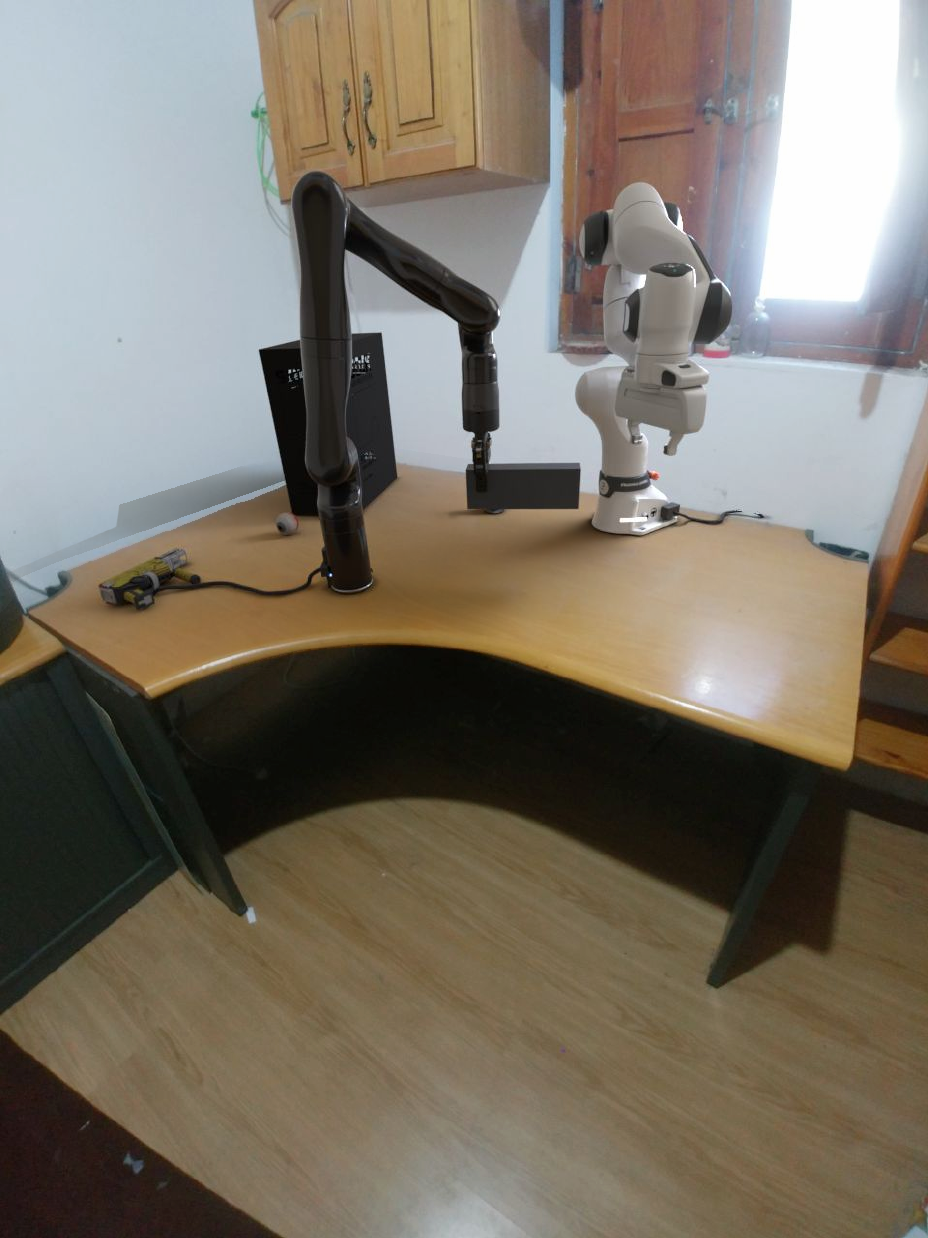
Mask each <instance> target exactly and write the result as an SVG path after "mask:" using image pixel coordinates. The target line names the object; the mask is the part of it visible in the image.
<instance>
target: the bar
mask: <svg viewBox="0 0 928 1238" xmlns="http://www.w3.org/2000/svg"><path fill="white" fill-rule="evenodd" d="M478 468H483V465H478ZM473 470H474V467H473V463H467V465H466V467H465V486H466V488H465V489H466V510H486V509H504V510H579V509H580V508H579V507H580V489H581V474H582V473H581V472H582V468H581V463H580V462H520V463H519V462H518V463H516V462H515V463H509V462H507V463H490V464H487V491H486V492H477V491H476V475H474V473H473Z"/></svg>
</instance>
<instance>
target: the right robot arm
mask: <svg viewBox="0 0 928 1238" xmlns="http://www.w3.org/2000/svg"><path fill="white" fill-rule="evenodd" d="M578 246H579V250H580V253H581V256H582V260H583V261H584V262H585V263H586V265H588V266H591V267H601V266H610V267H609V268H608V270H607V271H606V273H605V274H606V275H605V278H604V279H605V280H604V284H603V285H604V287H603V297H602V315H603V318H602V319H603V338H604V339H603V340H604V344H605V346H606V348H607V349H608V351H609V352H611V353H612V354H613V355H615V356H616V357H617V356H618V358H621V359H623V360H624V361H625V362H626V363H627V365H621V366H620V365H619V366H603V367H599V368H595V369H592V370H591V369H590V370H588V371H584V373H582V375H581V376H580V377H579V378H578V380H577V383H576V385H575V390H574V399H575V403H576V405H577V407H578V409H579V410H580V412H581V413H582V414H583V415H585V416H586V417H588V418H589V419H590V420H591V421H592V422H593V424H594V426H595V427H596V429H597V431H598V434H599V436H600V437H599V438H600V443H601V468H600V470H599V474H598V492H599V493H598V498H597V502H596V507H595V511H594V514H593V517H592V520H591V525H592V526H593V527H594V528H595V529H597V530H599V531H601V532H605V533H611V534H623V535H625V534H626V535H632V536H633V535H634V536H645V535H646V534H650V533H652V532H654V531H657V530H660V529H662V528H665V527H668V526H670V525H672V524H675V523H677V522H678V516H680V517H682V518H685V519H686V520H689V521H694V522H698V523H703V524H718V523H722V521H724V517H725V515H730V514H735V513H737V514H738V513H743V512H742V511H737V510H738V509H733V510H725V511H724V512H722V513H721V515H720V518H719V519H715V520H714V519H713V520H711V519H710V520H709V519H701V518H696V517H693V516H689V515H687V514H685V513H682V512H680V510H681V504H680V503H676V502H673V501H672V502H670V501H669V498H668V497H667V496H666V495H665V494H664V493H663V492H661V491H660V490H659V489H658V488H656V487H655V486H654V485H652V483H651V480H653V481H658V479H659V478H660V473H659V472H657V471H654V470H651V471H649V470H648V469H647V466H648V458H649V457H648V456H649V446H650V443H649V440H648V438H647V437H646V435H645V434H644V433H643V432H641V430H640V425H641V424H644V425H647V426H650V427H651V426H652V427H654V428H659V429H663V430H666V431H669V434H668V437H670V439H669V441H668V443H666V444H663V451H662V452H663V455H665V456H669V457H671V456H672V457H673V456H675V455H677V451H678V445H679V444H680V443H681V441H682V439H683V438H684V436H685V435H690V434H696V433H698V432H700V430H701V429H702V428H703V426H704V422H705V416H706V410H707V409H706V408H707V399H708V398H707V390H706V388H705V387H704V385H707V384H708V382H709V379H710V373H709V371H708V370H707V369H705V368H703V367H702V366H701V365H699V364H698V363H696V362H695V361H694V360H693V359H692V358H689V357H690V344H692V345H693V344H694V345H710V344H711V343H713V342H715V341H716V340H717V339H718V338H719V337H720V336H722V334H723V333H724V332H725V331H726V330H727V329H728V327H729V325H730V323H731V318H732V314H733V299H732V295H731V292H730V291H729V288H727V286H726V285H725V284H724V283H723V282H722V281H721V280H720V279H719V278H718V277H717V276H716V274H715V272H714V270H713V269H712V267H711V265H710V263H709V261H708V260H707V258H706V256H705V254H704V253H703V251H702V249H701V248H700V246H699V244H698V242H697V241H696V240H695V238H694V237H692V236H691V235H689V234H688V233H686V232H684V231H683V221H682V216H681V210H680V208H679V206H678V205H677V204H675V203H672V202H667V201H663V199H662V197H661V195H660V193H659V192H658V190H657V189H655V187H654V186H653V185H651V184H650V183H648V182H643V181H638V182H633V183H631V184H629V185H627V186H626V187H625V188H623V189H622V190H621V192H620V193H619V194H618V195H617V196H616V199H615V201H614V203H613V208H610V209H607V210H603V209H601V210H598V211H596V212H593V213H591V214H589V215H588V216H587V217H586V218H585V219H584V221H583V222H582V226H581V229H580V233H579V239H578ZM735 510H736V511H735ZM754 514H755V515H757V516H758V517H759V518H762V519H765V518H766V517H765V516H764V514H762V513H761V514H756V513H754Z"/></svg>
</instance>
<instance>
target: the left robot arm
mask: <svg viewBox="0 0 928 1238" xmlns="http://www.w3.org/2000/svg"><path fill="white" fill-rule="evenodd" d="M291 191H292V192H291V197H290V205H291V213H292V216H293V221H294V228H295V229H294V230H295V234H296V242H297V250H298V256H299V265H300V266H299V267H300V286H299V314H298V315H299V340H300V346H301V360H302V370H303V371H302V372H303V376H302V377H303V382H304V392H305V401H306V410H307V431H306V452H305V463H306V468H307V470H308V473H309V475H310V476H311V478H312V479H313V480H314V481H315V482H316V483H318V500H317V508H318V513H319V516H318V518H319V523H320V530H321V534H322V540H323V547H321V549H320V551H321V556H322V561H321V564H320V566H318V567H317V568H315V569H314V570H313V571H311V572H310V573H309V574H308V576H307V580H306V582H305V583H304V584H302V585H301V586H298V587H296V588H292V589H286V590H272V591H271V590H270V591H269V590H261V589H258V588H254V587H252V586H247V585H243V584H239V583H236V582H232V581H224V580H215V581H213V580H212V581H205V582H200V583H198V584H183V585H182V584H181V585H180V584H176V585H175V584H172V585H171V584H169V585H162V586H159V588H157V589H155V590H154V591H152V593H153V597H155V596H156V595H157V594H158V593H160V592H162V591H167V590H193V589H198V588H205V587H212V586H228V587H232V588H237V589H240V590H243V591H248V592H252V593H254V594H258V595H262V596H283V595H290V594H293V593H296V592H299V591H303V590H305V589H307V588H309V586H310V585H311V583H312V579H313V577H314V576H315V575H317V574H319V573H320V577H321V578H325V579H326V583H327V588H329V589H331V590H332V591H334V592H335V593H338V594H343V595H350V594H357V593H362V592H364V591H366V590H368V589H370V588H372V586H373V584H374V578H373V573H374V570H373V568H372V565H371V559H370V551H369V545H368V538H367V531H366V524H365V517H364V510H363V509H362V486H361V477H360V469H359V461H358V455H357V451H356V448H355V446H354V444H353V442H352V441H351V440H350V439H349V438H348V437H347V435H346V419H345V418H346V405H347V399H348V393H349V387H350V379H351V370H352V369H353V367H352V363H353V359H352V339H351V338H352V334H353V333H352V323H351V313H350V312H351V311H350V305H349V298H348V292H347V284H346V275H345V274H346V272H345V263H346V261H345V260H346V251H347V252H349V253H351V254H353V255H354V256H356V257H358V258H360V259H361V260H363V261H365V263H368V264H369V265H370V266H372V267H373V268H375V269H376V270H378V271H379V272H380V273H382V274H383V275H385V276H386V277H387V278H389V280H390V281H392V282H394V283H395V284H396V285H398V286H399V287H400V288H402V289H403V290H405V291H406V292H408V294H411V295H412V296H414V297H415V298H417V299H418V300H419V301H421V302H423V304H426V305H428V306H429V307H431V308H432V309H435V310H437V311H440V312H442V313H443V314H445V315H446V316H448V317H449V318H450V319H452V320H453V321H455V322H456V323H457V330H458V336H459V343H460V349H461V350H460V351H461V381H462V382H461V384H462V385H461V415H462V416H461V417H462V418H461V420H462V429H463V431H464V432H467V433H473V435H474V436H472V439H471V442H470V448H471V453H472V454H471V455H472V456H471V457H472V458H471V459H472V460H471V461H472V464H473V467H474V470H473V473H474V475H476V491H477V492H486V491H487V464H491V463H490V461H491V457H492V443H493V440H492V439H493V438H492V436H491V433H493V432H495V431H497V430H498V429H499V428H500V389H499V381H498V380H499V371H498V370H499V369H498V368H499V366H498V363H499V362H498V355H497V352H496V350H495V347H494V331H495V329H497V327H498V326H499V322H500V320H501V309H500V306H499V304H498V301H497V300H496V299H495V297H493V296H492V295H490V293H488V292H486V291H484V290H483V289H481V288H480V287H479V286H476V285H475V284H473V283H471V282H470V281H468V280H465V278H462V277H461V276H459V275H457V274H456V273H455V272H454V271H453V270H451V269H450V268H449V267H448V266H446V265H445V264H443V263H442V262H441V261H439V260H437V259H436V258H434V256H432V255H431V254H429V253H427V252H426V251H424V250H423V249H421V248H419V247H418V246H416V245H415V244H413V243H411V242H409V241H407V240H406V239H404V238H402V237H400V236H398V235H397V234H395V233H393V232H392V231H390V230H389V229H387V228H385V227H383V226H382V225H380V224H379V223H378V222H376V221H375V220H373V219H372V218H371V217H370V216H369V215H367V214H366V213H365V212H364V211H363V210H361V209H360V208H359V207H358V206H357V205H356V204H355V203H354V202H353V201H352V200H351V199H350V198H349V197H348V196H347V194H346V192H345V189H344V188H343V187H342V185H341V184H340V182H339V181H338V180H337V179H336V178H335V177H333V176H332V175H331V174H329V173H327V172H324V171H322V170H321V171H320V170H311V171H308V172H306V173H304V174H302V176H301V177H300V178H298V180H297V181H296V183H295V184H294V186H293V188H292V190H291ZM478 465H483V468H478Z"/></svg>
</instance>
